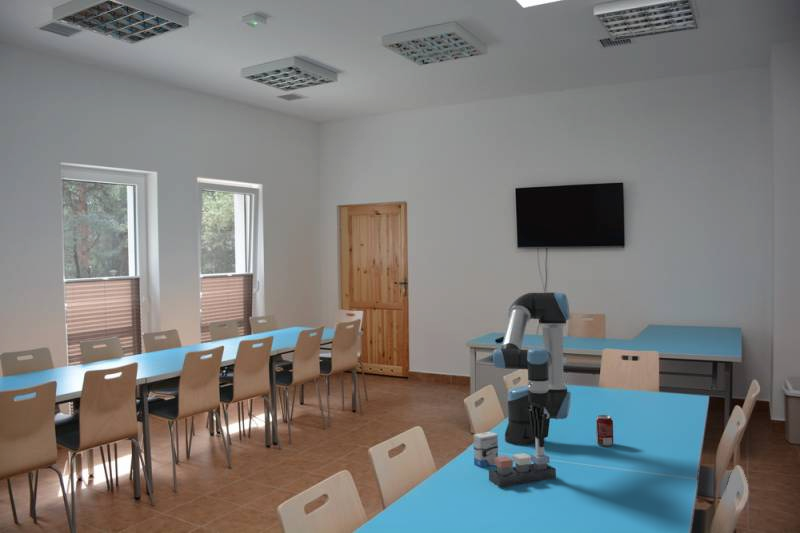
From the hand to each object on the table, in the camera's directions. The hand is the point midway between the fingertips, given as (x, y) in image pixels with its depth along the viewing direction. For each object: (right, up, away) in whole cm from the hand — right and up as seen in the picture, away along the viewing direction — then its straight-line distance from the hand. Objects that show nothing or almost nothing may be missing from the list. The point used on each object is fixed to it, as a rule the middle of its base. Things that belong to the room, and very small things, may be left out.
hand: (540, 454), depth 227 cm
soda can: (+35, -7, +35) cm, 50 cm away
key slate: (0, -6, 0) cm, 6 cm away
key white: (-7, -5, -2) cm, 9 cm away
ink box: (-18, -9, +15) cm, 25 cm away
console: (-7, -8, -2) cm, 11 cm away
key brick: (-14, -5, -5) cm, 16 cm away
